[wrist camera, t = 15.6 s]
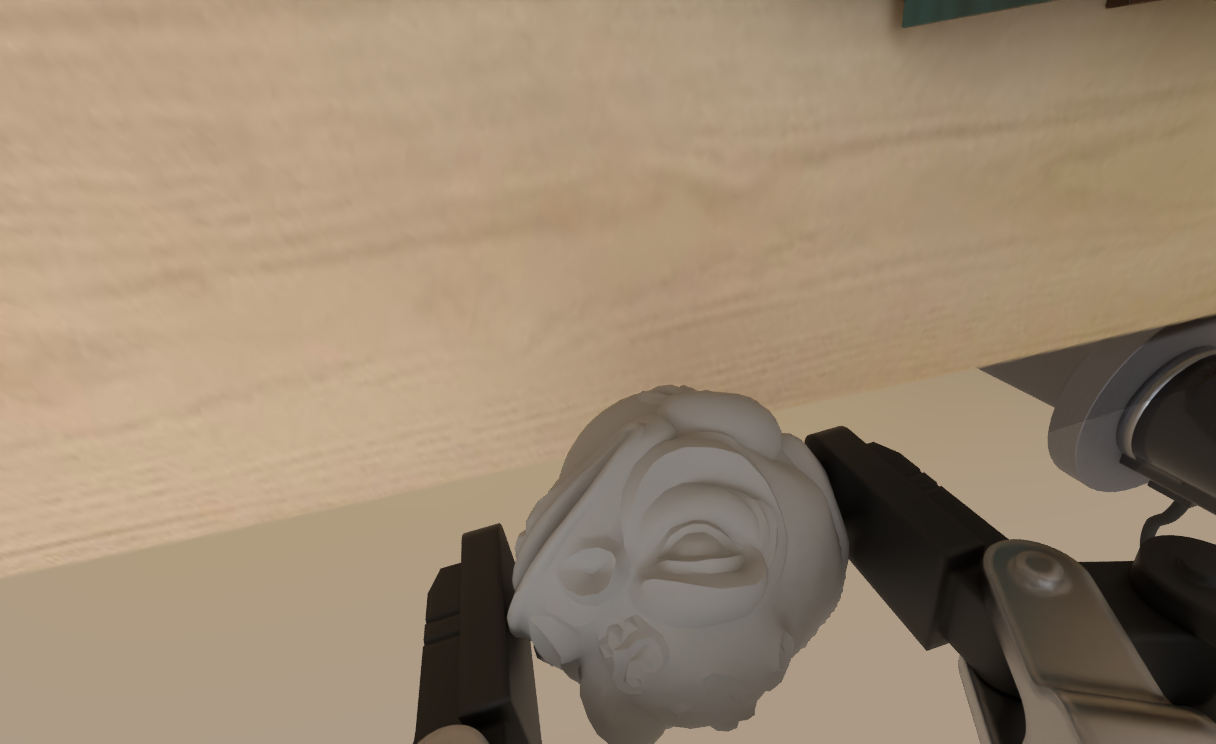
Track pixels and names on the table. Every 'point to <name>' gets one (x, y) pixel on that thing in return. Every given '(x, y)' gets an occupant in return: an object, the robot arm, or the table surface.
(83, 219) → the table surface
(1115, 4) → the cabinet
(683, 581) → the frog figurine
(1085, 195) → the table surface
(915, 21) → the drawer
